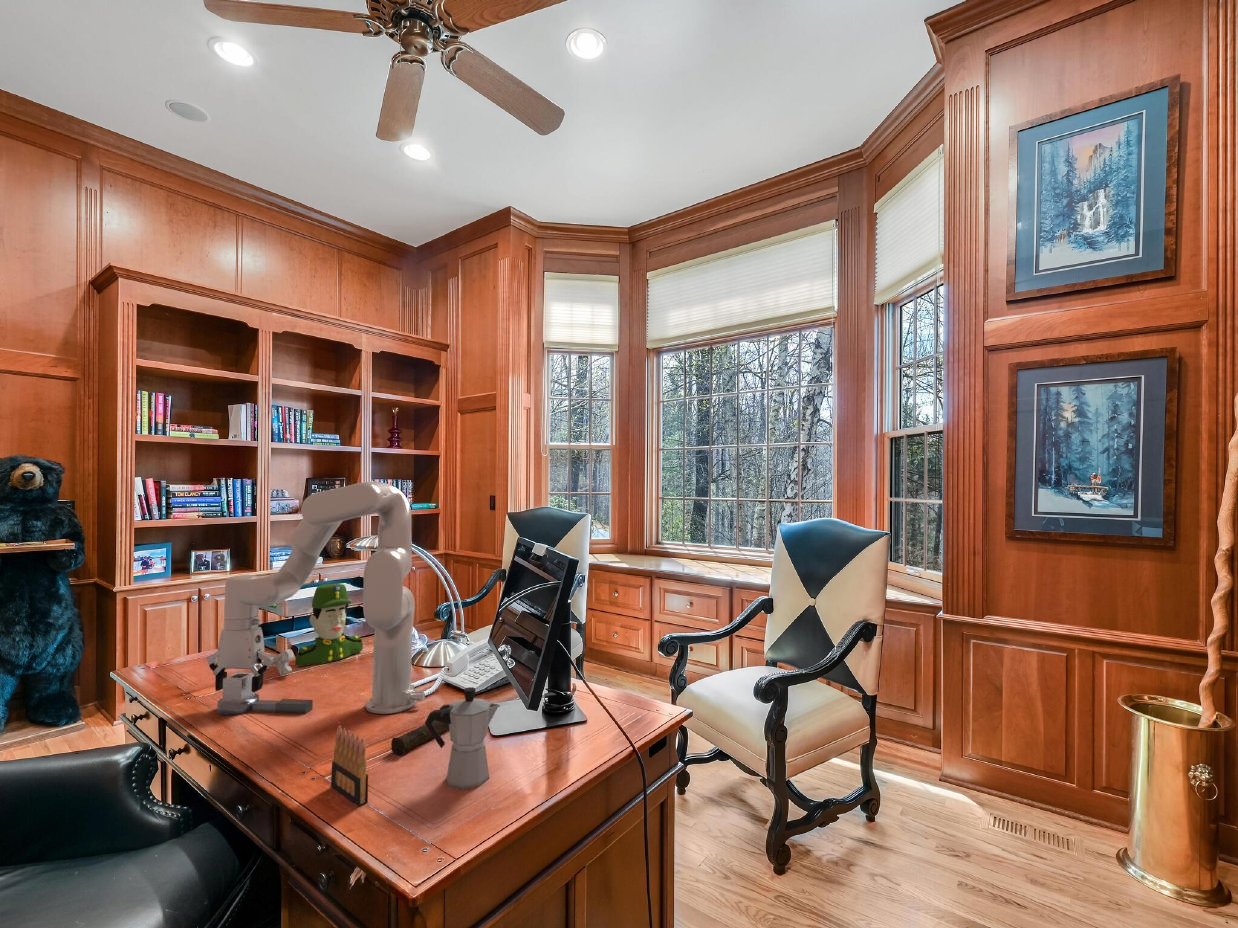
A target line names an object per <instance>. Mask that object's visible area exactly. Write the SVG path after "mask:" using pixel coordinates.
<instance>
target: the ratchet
mask: <svg viewBox="0 0 1238 928" xmlns="http://www.w3.org/2000/svg"><path fill="white" fill-rule="evenodd" d="M313 701H314V700H313V699H303V698H301V699H299V698H297V699H296V698H294V699H293V698H281V699H280V700H271V699H267V700H266V699H260V694H258V693H256V692H255V696H253V697H252V698H250V699H248V700H246V701H244V702H242V703H223V702H222V698H221V699H219V700H217V702H216V703H217V704H216V705H217V706H216V713H217V715H219V716H222V717H231V716H239V715H238V714H240V715H244V714H247V713H250V712H257V711H261V713H262V711H264V712H263V713H276V714H302V715H303V714H304V715H306V714H308V713H309V712H311V711H312V710H313V706H314V705H313V704H314V703H313ZM243 713H244V714H243Z"/></svg>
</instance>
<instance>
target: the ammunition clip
mask: <svg viewBox="0 0 1238 928" xmlns="http://www.w3.org/2000/svg"><path fill="white" fill-rule="evenodd" d="M334 742H335V743H334V748H333V750H334V751H333V760H332V761H331V774H330V775H331V777H330V788H331V789H332V790H334V791H335V792H337V793H338V794H339V795H341V796H342V797H344V798H345V799H346V800H348V801H349V802H351V804H354V805H355V806H356V807H361V806H362V805H365V804H367V803H368V802H369V801H368V800H369V793H368V792H369V775H368V774H367V755H366V754H367V753H366V742H365V739H364V738H363V737H362V738H360V736H359V735H355V733H354V732H352V734H351V731H350V730H349V729H348V730H346V728H345V727H343V728H342V726H341V725H340V724H339V725H338V727H337V728H336V733H335V740H334Z"/></svg>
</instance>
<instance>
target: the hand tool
mask: <svg viewBox="0 0 1238 928" xmlns="http://www.w3.org/2000/svg"><path fill="white" fill-rule="evenodd" d="M432 724H433V726H434V727H435V729H436V730H437V732H438V733H439V734H447V733H448V732H450V731H449V724H447V723H443V722H439V721H433V722H432ZM433 738H434V737H433V735H432V734H431V732H430V731H429V729H428V728H427V726H426V725H425V724H422V725H420V726H419V727H417V728H414V729H412V730H410V731H408V732H407V733H406V732H405V733H404V734H403V735H399V736H396V737H392V739H391V742H390V743H391V744H390V745H391V748H390V749H391V751H392V754H394V755H396V756H400V757H401V756H403V755H405V754H407V753H409V751H410V750H411V749H413V748H414V747H417V746H419V745H420V744H422V743H425V742H427V741H428V740H430V739H433Z"/></svg>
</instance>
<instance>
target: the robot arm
mask: <svg viewBox="0 0 1238 928" xmlns="http://www.w3.org/2000/svg"><path fill="white" fill-rule="evenodd" d="M300 510H301V511H300V512H301V517H302V520H301V521H300V522H299V523H298V524H297V526H296V527H295V528H294V530H293V531H292V532H291V534H290V535H289V543H290V544H291V550H290V553H289V555H288V557H287V559H286V560H285V562H284V564H283V565H282V566H281V568H280V569H279V570H278V571H277V572H276V573H273V574H271V575H268V576H267V575H266V576H264V577H258V576H257V575H252V574H241V575H233V576H230V577H228V578H227V579H226V581H225V586H224V611H223V613H224V615H223V616H224V617H223V629H221V630H220V631H221V632H220V635H219V637H218V638H219V640H218V645H217V651H216V652H214V653H212V654H210V655H208V656H207V657H206V660H207V661H206V662H208V665H209V666H208V667H209V669H210V670H211V671H212V673H213V675H214V676H215V677H214V678H215V680H214V681H215V682H214V684H215V692H219V691H221V690H223V679H224V678H226V677H228V671H226V670H227V669H233V670H249V671H250V673H253V674H254V676H253V677H252V690H251V691H252V692H255V693H256V692H258V691H260V690H261V689H263V684H264V674H265V673H266V672H267V671H268V670H269V669H270V667H271V666H272V665H271V663H272V661H273V657H271V656H269V655H268V654H266V653H267V652H265V642H264V640H265V639H264V634H263V629H262V627H261V626H262V623H263V620H262V619H259V618H260V617H259V609H260V607H271V606H274V605H277V604H279V603H281V602H283V601H286V600H288V599H289V598H292V597H293V596H295V594H297V593H298V591H300V590H301V588H302V587H303V585H304V584H305V583H306V581H307V580H308V579H309V577H310V576H311V574H312V573H313V571H314V569H315V567H316V565H317V562H318V559H319V558H320V554H321V552H322V551H323V549H324V547H325V546H326V545H327V544H328V543H329V540H330V539H331V538H332V536H333V535H334V534H335V533H336V531H337V529H338V528H339V527H340V526H341V524H342V523H343V522H344V521H348V520H352V519H355V518H360V517H365V516H370V515H378V519H379V522H378V527H377V547H376V549H377V550H376V551H375V552H374V553H373V554H371V555H370V556H369V557H368V559H367V561H366V562H365V564H364V565H365V566H364V569H363V598H362V599H363V600H362V602H363V605H362V606H363V608H362V609H363V616H364V619H365V622H366V623H367V625H368V626H369V627H371V628H372V629H374V636H373V656H372V657H373V661H372V666H373V667H372V689H371V691H372V696H371V698H369V699H368V700H367V701H366V702H365V709H366V711H368V712H369V713H372V714H379V715H386V714H387V715H388V714H390V715H391V714H395V713H400V712H404V711H406V710H409V709H411V708H413V707H414V706H415V705H416V703H417V702H424V701H425V699H426V693H425V691H424V690H416V689H415V684H412V679H411V678H412V653H413V652H412V650H413V649H412V647H413V646H412V645H413V626H414V620H415V619H414V618H415V609H416V600H415V596H414V594H413V592H412V591H411V590H410V588H408V587H406V586H404V579H405V578H406V577H407V576H408V575H409V573H410V571H411V570H412V566H413V560H412V559H413V558H412V557H413V556H412V555H413V554H412V552H413V551H412V550H413V549H412V547H413V545H412V543H413V542H412V510H411V505H410V502H409V500H408V498H407V497H406V495H405V493H403V492H402V491H401V490H400V489H398V488H397V487H396V486H394V485H391V484H390V483H386V482H382V481H365V482H358V483H354V484H349V485H345V486H340V487H337V488H332V489H328V490H324V491H323V490H321V491H318V492H314V493H312V494H310V495H309V496H307V497H306V498H305V499H304V501H303V503H302V505H301V509H300ZM260 625H261V626H260ZM264 652H265V653H264ZM263 662H264V663H263Z"/></svg>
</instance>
